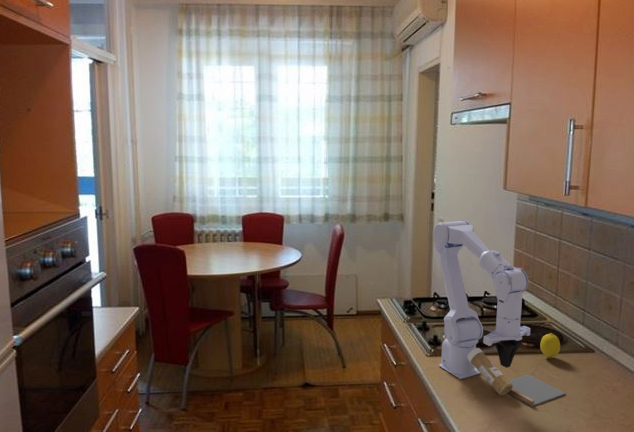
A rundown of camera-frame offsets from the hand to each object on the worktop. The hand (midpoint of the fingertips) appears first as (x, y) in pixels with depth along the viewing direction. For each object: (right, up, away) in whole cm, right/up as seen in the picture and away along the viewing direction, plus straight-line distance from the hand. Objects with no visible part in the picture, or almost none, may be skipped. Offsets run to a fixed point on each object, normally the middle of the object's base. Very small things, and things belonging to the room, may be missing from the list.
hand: (505, 365), depth 133 cm
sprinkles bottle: (+1, -7, +2) cm, 8 cm away
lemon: (+23, -5, +26) cm, 35 cm away
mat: (+9, -8, +6) cm, 14 cm away
